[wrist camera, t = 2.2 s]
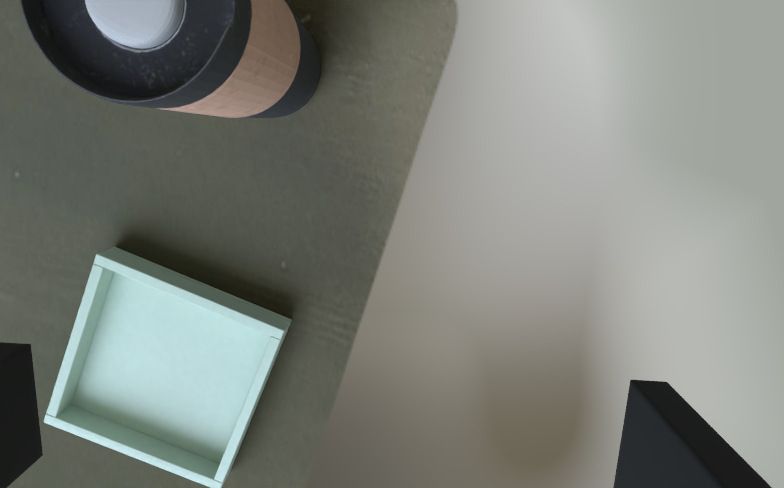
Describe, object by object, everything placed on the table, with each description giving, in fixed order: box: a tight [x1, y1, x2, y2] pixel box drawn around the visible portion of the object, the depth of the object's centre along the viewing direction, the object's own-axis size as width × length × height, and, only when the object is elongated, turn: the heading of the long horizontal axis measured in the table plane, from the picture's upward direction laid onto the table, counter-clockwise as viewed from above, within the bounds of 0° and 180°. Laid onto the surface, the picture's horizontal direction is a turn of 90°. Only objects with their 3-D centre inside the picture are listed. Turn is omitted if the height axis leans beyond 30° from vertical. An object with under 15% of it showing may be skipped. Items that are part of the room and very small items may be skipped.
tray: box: [44, 247, 292, 488], centre depth 41 cm, size 15×15×2 cm
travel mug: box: [19, 0, 321, 118], centre depth 28 cm, size 8×8×20 cm
